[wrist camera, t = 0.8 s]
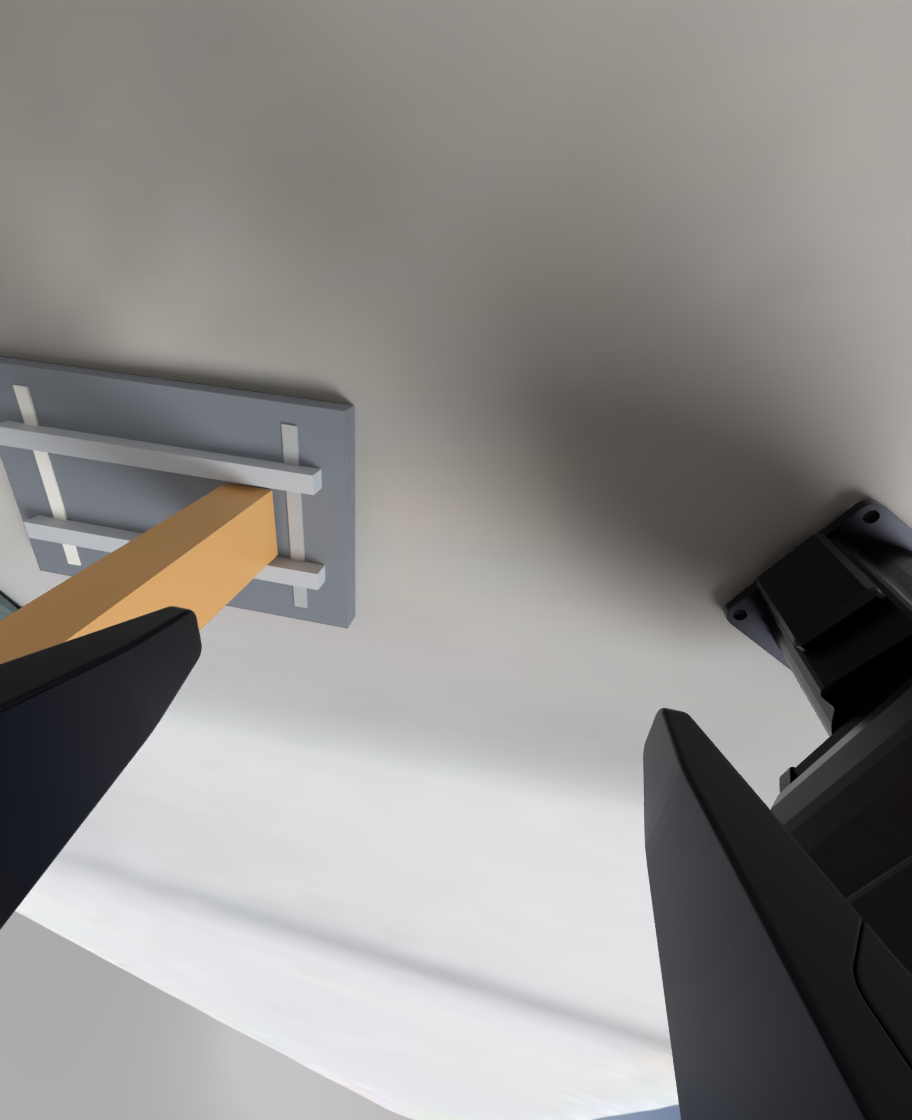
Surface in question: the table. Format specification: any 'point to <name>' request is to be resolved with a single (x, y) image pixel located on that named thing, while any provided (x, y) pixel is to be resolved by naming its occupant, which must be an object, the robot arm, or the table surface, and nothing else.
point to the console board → (181, 473)
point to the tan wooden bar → (156, 572)
